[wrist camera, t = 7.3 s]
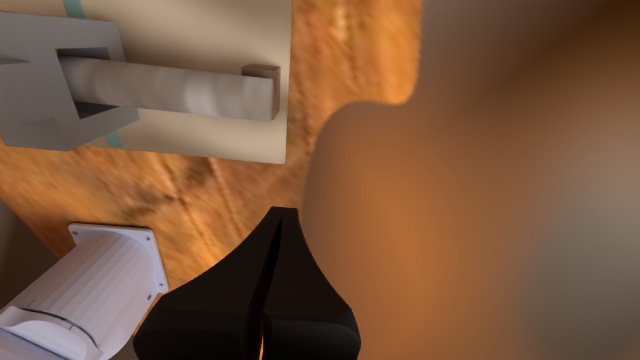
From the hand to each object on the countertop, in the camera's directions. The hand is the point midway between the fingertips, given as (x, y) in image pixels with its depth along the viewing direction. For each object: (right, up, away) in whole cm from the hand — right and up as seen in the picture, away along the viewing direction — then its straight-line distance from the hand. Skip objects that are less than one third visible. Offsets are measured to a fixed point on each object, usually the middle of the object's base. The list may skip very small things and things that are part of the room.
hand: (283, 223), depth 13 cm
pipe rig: (-10, +10, +6) cm, 15 cm away
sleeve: (-12, +9, +4) cm, 16 cm away
